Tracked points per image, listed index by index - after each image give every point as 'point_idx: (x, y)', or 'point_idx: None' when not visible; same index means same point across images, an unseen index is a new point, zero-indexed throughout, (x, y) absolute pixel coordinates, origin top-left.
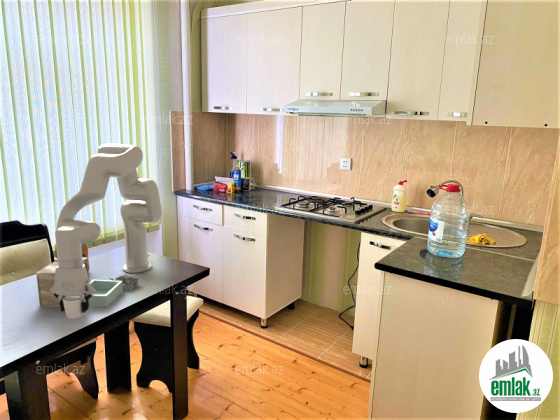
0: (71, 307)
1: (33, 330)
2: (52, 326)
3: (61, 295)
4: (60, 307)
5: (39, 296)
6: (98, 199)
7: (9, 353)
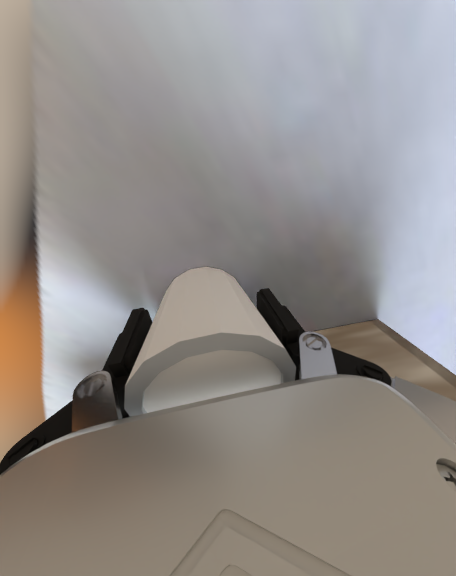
0: (184, 303)
1: (335, 71)
2: (243, 159)
3: (308, 378)
4: (283, 306)
5: (417, 349)
6: None
7: None
